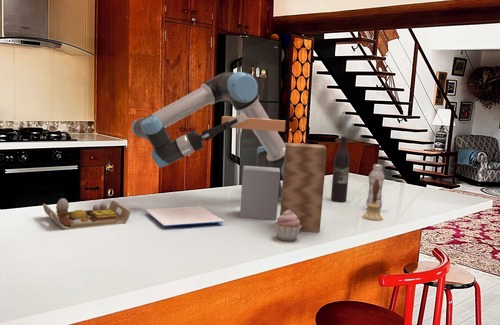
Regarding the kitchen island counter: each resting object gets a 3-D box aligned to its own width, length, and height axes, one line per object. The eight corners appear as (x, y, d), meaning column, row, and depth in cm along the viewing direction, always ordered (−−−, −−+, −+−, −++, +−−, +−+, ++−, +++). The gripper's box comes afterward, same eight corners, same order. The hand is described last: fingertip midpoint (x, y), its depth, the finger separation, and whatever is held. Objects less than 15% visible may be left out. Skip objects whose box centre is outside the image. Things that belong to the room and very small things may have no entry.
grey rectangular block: (239, 217, 194) (242, 169, 191) (241, 211, 204) (244, 165, 201) (276, 219, 193) (280, 172, 191) (275, 213, 203) (279, 168, 201)
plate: (163, 230, 170) (163, 224, 170) (144, 214, 190) (145, 209, 190) (224, 226, 181) (224, 220, 180) (200, 211, 200) (200, 205, 200)
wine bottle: (329, 200, 234) (334, 136, 230) (332, 198, 241) (338, 135, 237) (344, 203, 232) (350, 137, 227) (347, 200, 238) (353, 136, 234)
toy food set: (56, 232, 162) (56, 208, 161) (41, 218, 176) (42, 196, 175) (131, 224, 176) (132, 202, 175) (112, 212, 191) (113, 192, 190)
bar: (221, 127, 192) (222, 116, 191) (222, 126, 196) (222, 115, 195) (284, 131, 191) (285, 120, 191) (284, 130, 195) (285, 120, 195)
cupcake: (293, 244, 163) (295, 214, 162) (267, 238, 168) (270, 209, 167) (305, 238, 171) (308, 209, 170) (281, 232, 176) (283, 204, 175)
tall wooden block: (280, 229, 180) (286, 145, 176) (279, 222, 190) (285, 142, 186) (319, 232, 180) (326, 148, 176) (316, 224, 190) (323, 145, 186)
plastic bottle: (381, 212, 218) (386, 166, 215) (365, 210, 219) (370, 164, 217) (381, 208, 224) (385, 164, 222) (365, 207, 226) (369, 162, 223)
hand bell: (383, 217, 209) (387, 179, 207) (382, 221, 201) (386, 182, 199) (363, 214, 212) (367, 176, 209) (360, 218, 204) (364, 179, 202)
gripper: (198, 149, 204) (250, 123, 202) (192, 154, 187) (249, 126, 185) (189, 132, 203) (242, 106, 201) (182, 135, 186) (240, 107, 184)
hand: (245, 116), depth 193 cm, fingers closed on bar, 4 cm apart
